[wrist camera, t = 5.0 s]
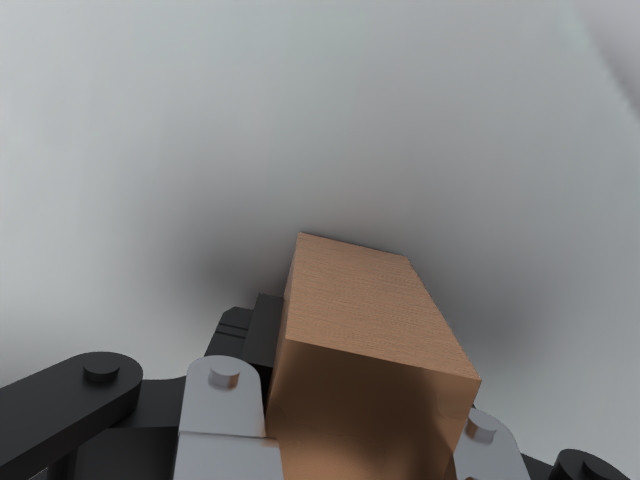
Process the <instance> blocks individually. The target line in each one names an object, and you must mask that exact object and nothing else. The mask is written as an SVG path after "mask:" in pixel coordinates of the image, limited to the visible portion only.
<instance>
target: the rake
mask: <svg viewBox="0 0 640 480" xmlns="http://www.w3.org/2000/svg"><path fill="white" fill-rule="evenodd" d="M283 299H284V303H283V309H282V316H281V322H280V328H279V335H278V341H277V348H276V354H275V360H274V367H273V371H272V375H271V379H270V383H269V387H268V392H267V396H266V400H265V404H264V408H263V413H264V423H265V432H266V437H272V438H276V439H277V440H278V443H279V449H280V456H281V463H282V470H283V477H284V480H444V473H445V470H446V468H447V465H448V462H449V460H450V457H451V454H452V452H455V449H456V447H457V444H458V441H459V439H460V436H461V434H462V431H463V428H464V426H465V423H466V420H467V418H468V415H469V413H470V410H471V407H472V405H473V402H474V400H475V397H476V394H477V392H478V389H479V386H480V384H481V381H482V380H481V378H480V377H479V375H478V374H477V372H476V370H475V369H474V367H473V365H472V364H471V362H470V360H469V359H468V357H467V355H466V354H465V352H464V351H463V349H462V347H461V346H460V344H459V342H458V341H457V339H456V337H455V336H454V334H453V333H452V331H451V329H450V328H449V326H448V324H447V323H446V321H445V319H444V318H443V316H442V314H441V313H440V311H439V310H438V308H437V306H436V305H435V303H434V301H433V300H432V298H431V296H430V295H429V293H428V292H427V290H426V288H425V287H424V285H423V283H422V282H421V280H420V278H419V277H418V275H417V273H416V272H415V270H414V269H413V267H412V265H411V264H410V262H409V260H408V259H407V257H405V256H400V255H396V254H392V253H387V252H383V251H379V250H374V249H370V248H366V247H362V246H357V245H353V244H349V243H344V242H340V241H336V240H331V239H327V238H323V237H318V236H314V235H310V234H306V233H301V232H299V233H298V237H297V242H296V246H295V250H294V254H293V258H292V262H291V267H290V271H289V275H288V279H287V283H286V288H285V292H284V296H283Z"/></svg>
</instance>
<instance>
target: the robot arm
mask: <svg viewBox="0 0 640 480" xmlns="http://www.w3.org/2000/svg"><path fill="white" fill-rule="evenodd" d="M283 303H284V299H283V298H279V297H274V296H270V295H265V294H261V293H259V295H258V298H257V302H256V305H255V308H254V310H249V309H245V308H240V307H236V306H235V307H233V308H231V309H229V310H228V311H226V312H224V313H223V315H222V317H221V319H220V321H219V324H218V326H217V328H216V330H215V333H214V335H213V337H212V339H211V342H210V344H209V346H208V348H207V351H206V353H205V355H204V357H202V358H199V359H197V360H195V361H194V362H193V363H192V364H191V365H190V366H189V368H188V371H187V375H186V376H183V377H179V378H175V379H166V380H142V378H143V370H142V367H141V366H140V365H139V363H137V362H136V361H135V360H133V359H132V358H130V357H128V356H125V355H122V354H118V353H113V352H90V353H84V354H80V355H77V356H74V357H72V358H69V359H67V360H65V361H62V362H60V363H58V364H56V365H53V366H51V367H49V368H46V369H44V370H42V371H40V372H37V373H35V374H33V375H30V376H28V377H26V378H24V379H21V380H19V381H17V382H14V383H12V384H10V385H7V386H5V387H3V388H1V389H0V480H28V479H29V478H31V477H33V476H34V475H36V474H37V473H39V472H40V471H42V470H43V469H45V468H46V467H48V468H47V469H46V470H44V471H42V472H41V473H39V474H38V475H36V476H35V477H33V478H32V479H30V480H284V477H283V470H282V463H281V456H280V449H279V443H278V440H277V439H276V438H272V437H266V432H265V423H264V413H263V408H264V404H265V400H266V396H267V392H268V387H269V383H270V379H271V375H272V371H273V367H274V360H275V354H276V348H277V341H278V335H279V328H280V322H281V316H282V309H283ZM444 480H630V479H629V478H628V477H626V476H625V475H624V474H622V473H621V472H620V471H619V470H617V469H616V468H615V467H613V466H612V465H610V464H609V463H607V462H605V461H604V460H602V459H600V458H598V457H596V456H594V455H592V454H589V453H587V452H583V451H580V450H576V449H565V450H562V451H561V452H560V453H559V455H558V457H557V459H556V462H555V464H554V466H551V465H549V464H546V463H544V462H542V461H539V460H537V459H534V458H532V457H529V456H527V455H524V454H522V453H520V451H519V448H518V446H517V443H516V441H515V438H514V436H513V434H512V433H511V432H510V430H509V429H508V428H507V427H506V426H505V425H504V424H502V423H501V422H500V421H499V420H497V419H496V418H494V417H492V416H491V415H489V414H487V413H485V412H483V411H480V410H477V409H476V408H475V406H474V404H473V405H472V407H471V410H470V413H469V415H468V418H467V420H466V423H465V426H464V428H463V431H462V434H461V436H460V439H459V441H458V444H457V447H456V449H455V452H452V454H451V457H450V460H449V462H448V465H447V468H446V470H445V473H444Z"/></svg>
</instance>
